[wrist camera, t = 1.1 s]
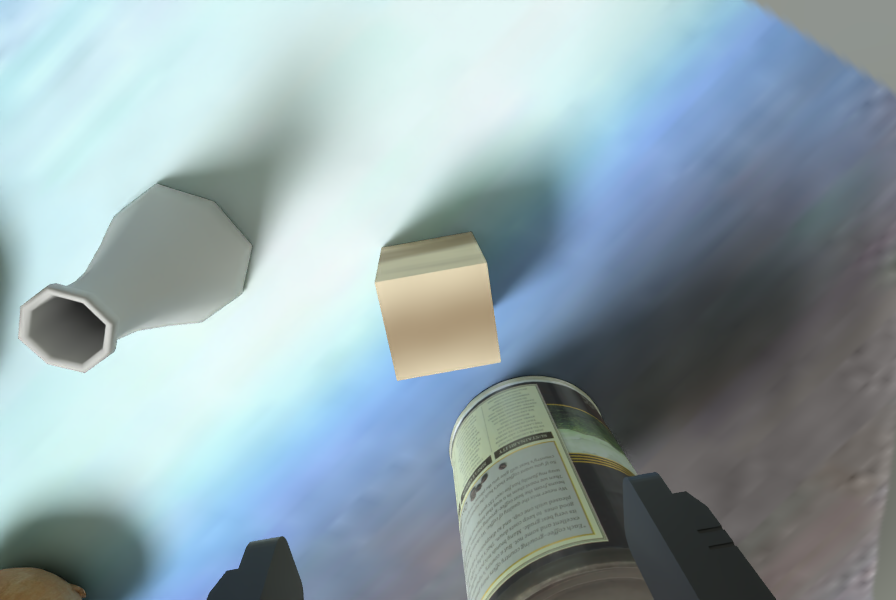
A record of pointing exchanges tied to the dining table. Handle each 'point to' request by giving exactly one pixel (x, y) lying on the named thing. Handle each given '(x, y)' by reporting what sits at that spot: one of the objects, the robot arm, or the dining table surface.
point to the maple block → (437, 306)
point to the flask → (140, 279)
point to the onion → (36, 585)
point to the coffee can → (541, 496)
